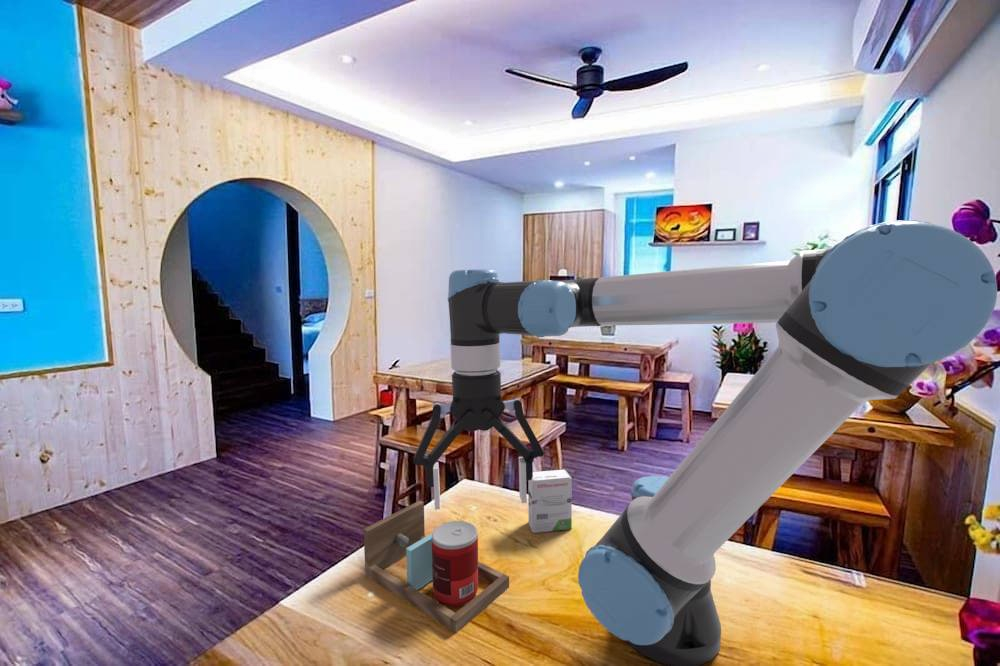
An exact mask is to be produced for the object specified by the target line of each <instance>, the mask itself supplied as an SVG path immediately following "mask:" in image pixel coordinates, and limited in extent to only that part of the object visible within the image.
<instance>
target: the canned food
mask: <svg viewBox="0 0 1000 666" xmlns="http://www.w3.org/2000/svg"><path fill="white" fill-rule="evenodd" d="M431 533H432V577H433V580H432V593H433V597H434V598H435V601H436V602H438V603H440V604H441V605H443V606H445V607H446V608H457V607H464V606H465V605H466V604H467V603H469V602H470V601H471V600H472V599H474V598H475V597H476V596H477V593H478V589H479V577H478V562H479V537H478V535H479V534H478V528H477V527H476V526H475V525H474V524H472V522H468V521H465V520H464V521H463V520H452V521H451V520H450V521H446V522H443V523H441V524H439V525H438V526H436V527H435V528H434V529H433V531H432V532H431Z"/></svg>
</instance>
